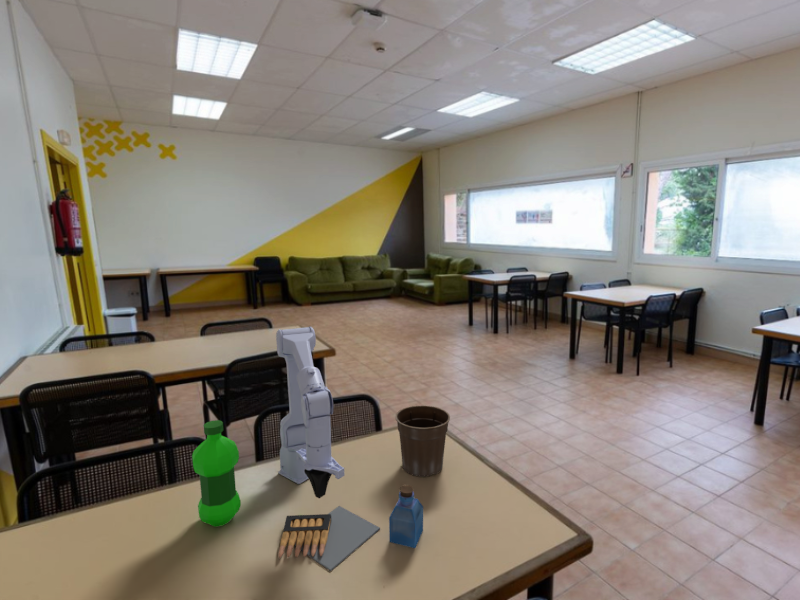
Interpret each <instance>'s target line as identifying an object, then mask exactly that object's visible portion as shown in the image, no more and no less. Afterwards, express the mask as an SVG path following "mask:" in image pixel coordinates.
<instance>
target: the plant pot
mask: <svg viewBox="0 0 800 600" xmlns="http://www.w3.org/2000/svg"><path fill="white" fill-rule="evenodd" d="M394 418H395V421H396V423H397V424H396V425H397V431H398V432H399V442H400V451H401V452H400V453H401V465H402V469H403V470H405V471H406V473H408V474H409V475H412V476H415V477H423V478H425V477H431V476H432V475H438V474H439V473H440V472H441V471H442V469H443V467H444V466H443V465H444V455H445V447H446V446H445V445H446V437H447V433H448V429H449V428H448V427H449V422H450V421H451V415H450V413H449V412H447V411H446V410H445V409H443V408H440V407H437V406H432V405H411V406H410V405H409V406H407V407H404V408H401V409H400V410H398V411H397V412H396V413H395V416H394Z"/></svg>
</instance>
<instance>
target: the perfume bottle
mask: <svg viewBox="0 0 800 600" xmlns="http://www.w3.org/2000/svg"><path fill="white" fill-rule="evenodd" d="M419 500H420V499H418V498H415V491H414V487H413V485H409V484H403V485H401V486H400V487H399V493H398V501H397V502H396V504H395V506H394V507H393V509H392V511H391V513H390V516H388V517H389V518H388V520H389V521H388V523H389V527H388V528H389V534H388V536H389V543H392V544H396V545H401V546H404V547H409V548H412V549H417V546H418V543H419V541H420V539H421V536H422V534H423V531H424V506H423V505H422V503H421V502H420V501H419Z"/></svg>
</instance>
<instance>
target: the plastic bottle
mask: <svg viewBox="0 0 800 600" xmlns="http://www.w3.org/2000/svg"><path fill="white" fill-rule="evenodd" d="M223 431H224V422H223V421H222V420H219V419H218V420H210V421H207V422H206V423H204V424H203V432H204V433H203V434H204V435H206V439H205V440H203V441H202V442H201V443H200V444H199V445H198V446H197V447H196V448H195V449H194V450H193V451H192V455H191V459H192V468H193V471H194V473H195V474H197V475H199V483H200V484H199V485H200V493H201V494H200V499H199V502H198V504H197V510H198V511H197V512H198V516H199V517H198V518H199V520H200V521H202V522H203V523H205V524H207V525H210V526H212V527H215V528H217V527H223V526H225V525H226V524H228V523H229V522H230V521H232V520H233V518H234V517H235V516H236V514H238V512H239V511H240V508H241V505H242V502H241V498H240V494H239V492H238V490H236V489H237V488H236V476H235V467H236V465H237V463H239V458H240V452H239V449H238V446H237V444H236V442H235V441H234V440H232V439H230V438H229V437H226V436H224V435H222V432H223Z"/></svg>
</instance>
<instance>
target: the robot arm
mask: <svg viewBox="0 0 800 600" xmlns="http://www.w3.org/2000/svg"><path fill="white" fill-rule="evenodd" d="M275 338H276V340H275V341H276V350H277V356H278V358H279V357H280V358H284V360H285V363H286V374H287V376H286V377H287V378H286V379H287V392H288V394H287V395H288V404H289V405H288V407H289V412H288V413H287V415H285V416H284V417H283V418H282V419H281V420H280V423H279V424H280V428H279V429H280V430H279V434H280V436H279V437H280V443H281V447H280V450H279V466H280V468H279V469H280V470H279V471H277V472H278V474H279V475H281V476H283V477H284V478H286V479H288V480H290V481H292V482H293V483H296V484H298V485H300V484H302V483H303V482H306V481H307V480H309V482H310V484H311V487H312V491H313V494H314V496H315V497H316V498H318V499H321V498H323V497H324V496H325V495H326V492H327V487H328V484H329V481H330V479H331V477H332V475H333V476H334V478H335V479H336V480H340V479H342V478H343V477H345V467H343V466H342V465H341V464H339V462H338V461H337V460H336V459H335V458H334V457H333V456H332V433H331V432H332V431H331V430H332V429H331V427H332V426H331V415H333V414H334V400H333V395H332V392H331V390H330V389H328V386H325V383H324V380H323V376H322V373H321V371H320V369H319V368H318V367H315V366H314V360H313V356H312V352H313V351H314V350H315V347H316V346H317V344H316V343H317V341H316V340H317V339H316V338H317V337H316V332H315V329H314V328H313V326H306V327H298V328H297V327H296V328H286V329H280V328H279V329H278V330H277V331H276V334H275Z"/></svg>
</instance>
